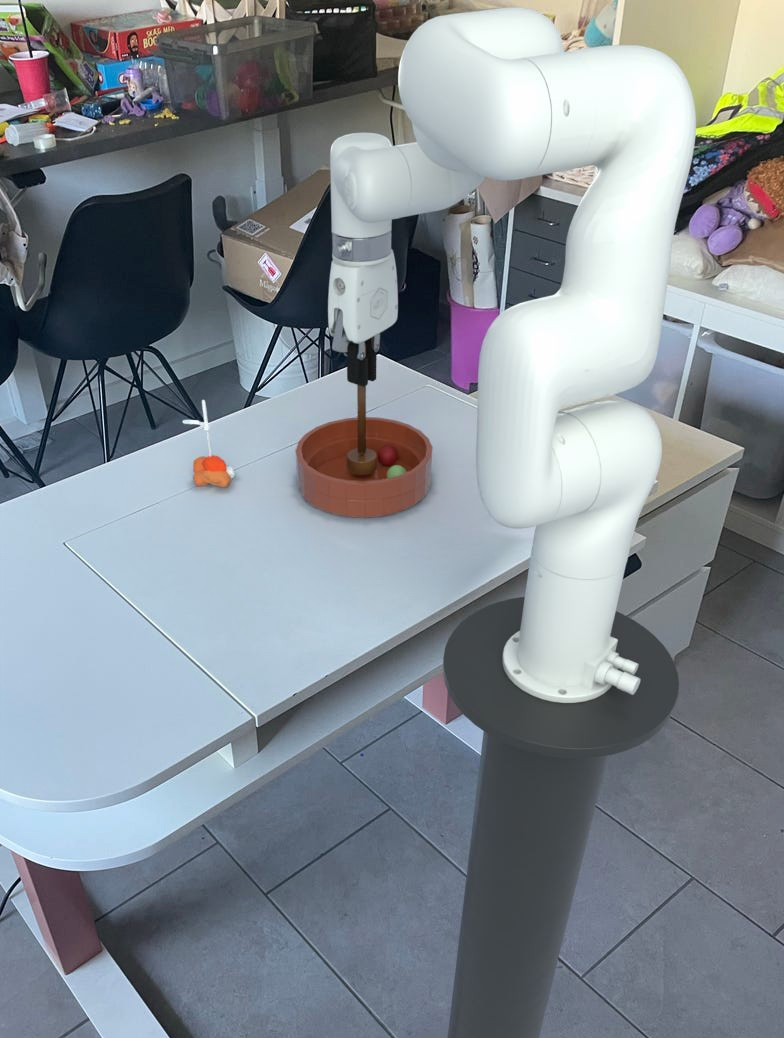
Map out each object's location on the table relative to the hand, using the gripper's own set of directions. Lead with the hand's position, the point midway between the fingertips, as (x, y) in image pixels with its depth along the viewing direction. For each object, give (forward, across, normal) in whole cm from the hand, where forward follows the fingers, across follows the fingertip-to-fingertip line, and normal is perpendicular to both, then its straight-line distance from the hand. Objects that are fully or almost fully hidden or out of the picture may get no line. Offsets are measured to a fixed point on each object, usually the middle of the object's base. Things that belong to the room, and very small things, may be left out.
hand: (361, 380), depth 131 cm
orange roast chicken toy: (+16, -14, +19) cm, 28 cm away
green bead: (+13, +1, -6) cm, 15 cm away
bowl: (+16, -1, -1) cm, 16 cm away
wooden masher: (+14, 0, 0) cm, 14 cm away
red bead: (+13, +5, -1) cm, 14 cm away
